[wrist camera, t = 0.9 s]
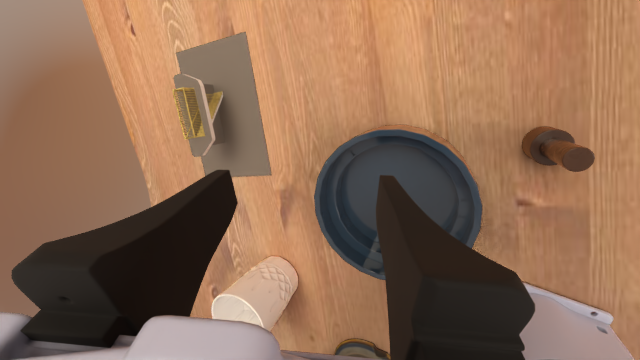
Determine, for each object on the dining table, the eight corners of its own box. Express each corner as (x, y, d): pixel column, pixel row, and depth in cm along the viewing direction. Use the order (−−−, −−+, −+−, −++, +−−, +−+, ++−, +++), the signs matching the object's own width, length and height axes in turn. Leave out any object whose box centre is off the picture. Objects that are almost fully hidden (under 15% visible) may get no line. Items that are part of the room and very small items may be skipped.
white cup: (257, 245, 42) (209, 285, 33) (304, 260, 39) (265, 308, 30) (257, 287, 44) (212, 334, 36) (300, 304, 42) (263, 360, 33)
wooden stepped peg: (569, 130, 24) (618, 143, 17) (552, 163, 25) (593, 186, 19) (530, 123, 25) (562, 132, 18) (516, 154, 26) (542, 174, 19)
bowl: (500, 145, 26) (513, 155, 22) (445, 277, 32) (446, 306, 28) (344, 110, 31) (329, 112, 27) (320, 230, 37) (304, 248, 32)
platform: (245, 31, 33) (204, 17, 27) (271, 175, 37) (240, 189, 32) (176, 52, 38) (128, 45, 32) (206, 177, 42) (169, 190, 36)
